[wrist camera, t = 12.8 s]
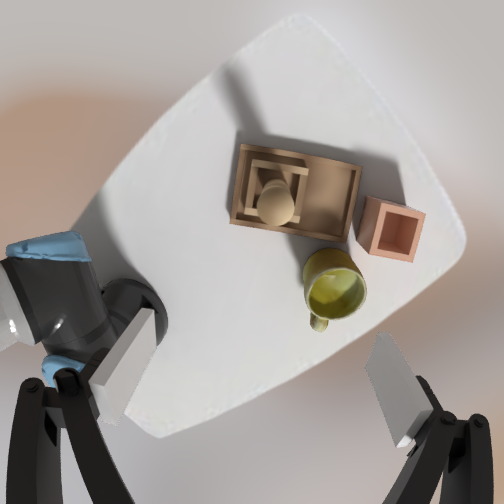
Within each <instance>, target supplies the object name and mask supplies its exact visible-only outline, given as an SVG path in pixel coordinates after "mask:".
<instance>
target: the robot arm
mask: <svg viewBox="0 0 504 504" xmlns="http://www.w3.org/2000/svg"><path fill="white" fill-rule="evenodd" d="M6 256H8V257H7V258H6V259H4V260H1V261H0V351H2V350H4V349H5V348H7V347H8V346H10V345H12V344H13V343H15V342H17V341H19V342H23V343H26V344H28V345H31V346H33V345H35V344H37V343H38V342H40V341H41V342H42V343H43V345H44V348H45V350H46V352H47V354H48V356H46V357H45V358H44V359H43V363H42V373H43V376H44V377H45V380H46V381H47V383H48V384H49V385H50V386H51V387H45V385H44V383H43V382H42V380H40V379H39V378H28V379H26V380H25V381H24V382H22V384H21V386H20V390H19V394H18V399H17V404H16V409H15V415H14V420H13V425H12V432H11V439H10V447H9V455H8V467H7V483H6V504H63V497H62V484H61V462H60V461H61V460H60V436H61V434H60V433H61V428H66V429H67V432H68V435H69V439H70V442H71V445H72V449H73V452H74V455H75V458H76V461H77V463H78V466H79V469H80V472H81V475H82V477H83V480H84V483H85V485H86V487H87V490H88V492H89V495H90V497H91V499H92V501H93V504H135V502H134V500H133V499H132V497H131V495H130V493H129V491H128V489H127V488H126V486H125V484H124V482H123V480H122V478H121V476H120V474H119V472H118V470H117V468H116V466H115V463H114V462H113V459H112V457H111V455H110V452H109V450H108V448H107V446H106V443H105V441H104V438H103V436H102V433H101V431H100V429H99V426H98V423H97V421H96V420H97V418H98V417H99V415H100V417H101V419H102V422H105V423H107V424H110V425H114V426H117V425H118V423H119V421H120V419H121V417H122V415H123V413H124V411H125V409H126V407H127V405H128V403H129V401H130V399H131V397H132V395H133V393H134V391H135V389H136V387H137V385H138V383H139V381H140V379H141V377H142V375H143V373H144V371H145V370H146V368H147V366H148V364H149V362H150V360H151V358H152V356H153V354H154V352H155V350H156V349H157V346H158V345H159V344H160V343H161V341H162V339H163V338H164V336H165V334H166V332H167V328H168V317H167V313H166V310H165V308H164V306H163V304H162V302H161V301H160V299H159V298H158V297H157V295H156V294H155V293H154V292H153V291H152V290H150V289H149V288H148V287H147V286H145V285H143V284H142V283H139V282H137V281H134V280H131V279H117V280H114V281H111V282H110V283H108V284H107V285H106V286H105V287H104V288H103V289H101V291H100V288H99V285H98V282H97V279H96V276H95V272H94V269H93V266H92V263H91V261H92V259H91V258H90V257H89V255H88V252H87V249H86V246H85V243H84V240H83V238H82V236H81V235H80V234H79V233H77V232H75V231H66V232H60V233H55V234H50V235H45V236H41V237H36V238H32V239H28V240H24V241H20V242H17V243H13V244H10V245H8V246H7V247H6ZM365 368H366V371H367V373H368V376H369V378H370V381H371V383H372V386H373V388H374V391H375V393H376V396H377V398H378V401H379V403H380V406H381V409H382V411H383V414H384V417H385V419H386V422H387V425H388V428H389V430H390V433H391V436H392V439H393V441H394V444H395V447H402V446H408V445H409V444H410V443H411V441H412V440H413V439H415V442H416V445H415V446H414V447H413V448H412V450H411V451H410V452H409V453H408V455H407V456H409V457H408V459H407V461H406V463H405V465H404V467H403V469H402V471H401V472H400V474H399V476H398V478H397V480H396V482H395V483H394V485H393V487H392V489H391V490H390V492H389V494H388V495H387V497H386V498H385V500H384V502H383V503H382V504H430V501H431V499H432V496H433V494H434V492H435V490H436V487H437V485H438V482H439V480H440V477H441V475H442V472H443V479H442V488H441V495H440V502H439V504H493V494H494V493H493V492H494V490H493V488H494V485H493V484H494V483H493V458H492V447H491V436H490V428H489V423H488V420H487V419H486V417H484V416H483V415H480V414H473V415H472V416H471V417H470V418H469V420H457V418H456V416H455V415H454V414H452V413H451V412H448V411H444V410H443V409H442V407H441V405H440V403H439V402H438V400H437V398H436V396H435V395H434V394H433V391H432V389H430V386H429V384H428V383H427V381H426V380H425V379H424V378H422V377H421V376H415V375H414V373H413V371H412V369H411V368H410V366H409V365H408V363H407V361H406V360H405V358H404V356H403V354H402V352H401V351H400V349H399V348H398V346H397V344H396V343H395V341H394V339H393V338H392V336H391V335H390V333H389V332H378V334H377V337H376V340H375V343H374V345H373V348H372V351H371V354H370V356H369V359H368V361H367V364H366V367H365Z"/></svg>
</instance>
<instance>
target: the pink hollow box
mask: <svg viewBox="0 0 504 504" xmlns="http://www.w3.org/2000/svg"><path fill="white" fill-rule="evenodd" d="M425 215H426V214H425V213H423V212H420V211H418V210H416V209H413V208H411V207H409V206H406V205H403V204H399V203H395V202H391V201H387V200H383V199H379V198H375V197H370V196H366V199H365V204H364V209H363V213H362V218H361V222H360V226H359V231H358V235H357V239H356V241H357V242H358V243H359V244H360V245H361V246H362V247H363V249H364V250H365V251H366V252H367V253H368V254H369V255H375V256H380V257H386V258H391V259H396V260H402V261H407V262H412V263H413V259H414V256H415V253H416V249H417V246H418V242H419V238H420V235H421V231H422V227H423V223H424V219H425Z"/></svg>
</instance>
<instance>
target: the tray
mask: <svg viewBox="0 0 504 504" xmlns="http://www.w3.org/2000/svg"><path fill="white" fill-rule="evenodd" d="M361 171H362V167H361V166H357V165H353V164H349V163H345V162H340V161H336V160H331V159H327V158H322V157H317V156H312V155H307V154H302V153H297V152H291V151H285V150H280V149H274V148H268V147H261V146H254V145H247V144H241V148H240V154H239V161H238V167H237V174H236V181H235V188H234V195H233V202H232V209H231V216H230V224H234V225H241V226H247V227H253V228H259V229H265V230H271V231H277V232H283V233H289V234H295V235H301V236H306V237H312V238H318V239H323V240H329V241H335V242H340V243H345V244H346V242H347V238H348V234H349V229H350V225H351V220H352V216H353V211H354V207H355V202H356V197H357V192H358V187H359V182H360V177H361ZM272 178H281V179H283V180H284V181H285V182H286V183H287V185H288V188H289V190H290V193H291V196H292V199H293V201H294V206H295V209H294V214H293V216H292V218H291V219H290V220H289V221H288V222H287V223H285V224H283V225H280V226H271V225H268V224H266V223H265V222H263V221H262V220H261V219H260V217H259V215H258V213H257V202H258V199H259V197H260V195H261V193H262V190H263V188H264V186H265V184H266V182H267V181H268V180H270V179H272Z"/></svg>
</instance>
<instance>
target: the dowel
mask: <svg viewBox="0 0 504 504" xmlns="http://www.w3.org/2000/svg"><path fill="white" fill-rule="evenodd" d="M294 209H295V206H294V201H293V199H292V196H291V193H290V190H289V188H288V185H287V183H286V182H285V181H284V180H283V179H281V178H272V179H270V180H268V181H267V182H266V184H265V186H264V188H263V190H262V193H261V195H260V197H259V199H258V202H257V213H258V215H259V217H260V219H261V220H262V221H263V222H265V223H266V224H268V225H271V226H280V225H283V224H285V223H287V222H288V221H289V220H290V219H291V218H292V216H293V214H294Z"/></svg>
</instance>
